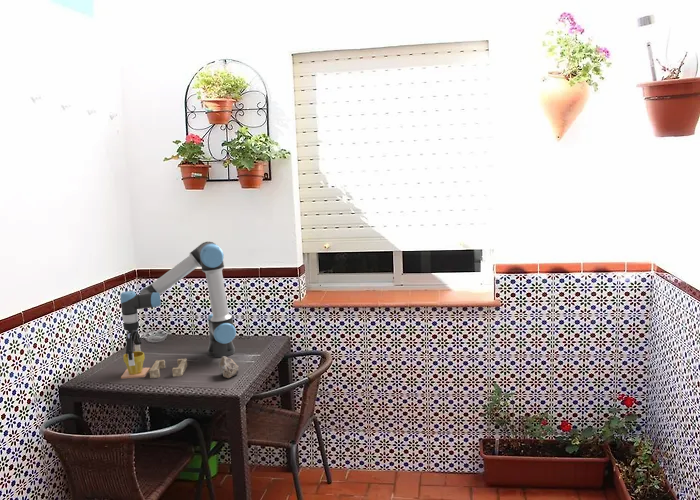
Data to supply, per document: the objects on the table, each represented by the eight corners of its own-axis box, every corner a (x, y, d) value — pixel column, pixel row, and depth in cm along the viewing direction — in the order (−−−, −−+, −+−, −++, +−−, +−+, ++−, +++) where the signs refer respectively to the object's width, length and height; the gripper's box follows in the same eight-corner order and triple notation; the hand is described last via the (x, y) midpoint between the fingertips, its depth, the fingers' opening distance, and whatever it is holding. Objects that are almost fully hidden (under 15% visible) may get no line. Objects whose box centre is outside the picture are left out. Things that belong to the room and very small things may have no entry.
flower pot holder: (187, 365, 352) (186, 358, 351) (181, 376, 336) (181, 368, 336) (156, 367, 351) (156, 360, 350) (150, 378, 335) (149, 370, 335)
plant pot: (139, 376, 336) (137, 357, 334) (121, 375, 338) (119, 357, 336) (149, 369, 346) (147, 351, 344) (131, 368, 348) (129, 350, 346)
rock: (226, 385, 328) (238, 370, 327) (209, 370, 329) (221, 355, 328) (232, 381, 337) (244, 366, 336) (215, 366, 338) (226, 351, 337)
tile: (150, 369, 349) (150, 367, 349) (144, 377, 337) (144, 375, 337) (127, 370, 348) (127, 368, 348) (121, 378, 336) (120, 376, 336)
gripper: (129, 315, 350) (133, 354, 353) (116, 328, 325) (121, 369, 329) (143, 314, 350) (148, 353, 354) (132, 327, 326) (136, 368, 329)
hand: (135, 361), depth 341 cm, fingers open, 13 cm apart
